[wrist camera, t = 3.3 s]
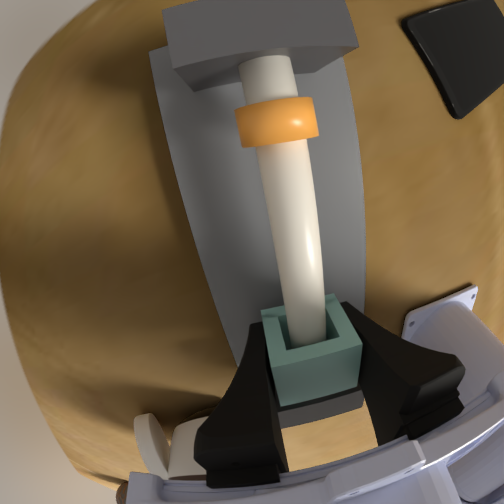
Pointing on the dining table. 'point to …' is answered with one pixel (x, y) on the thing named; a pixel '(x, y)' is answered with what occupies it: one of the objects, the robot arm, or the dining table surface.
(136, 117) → the dining table surface
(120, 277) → the dining table surface
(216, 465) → the robot arm
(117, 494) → the vase
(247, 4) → the rod and ring fixture
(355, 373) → the marker sleeve
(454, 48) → the smartphone
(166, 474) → the spread jar
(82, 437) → the dining table surface
